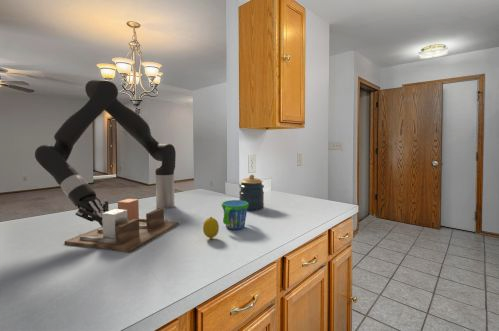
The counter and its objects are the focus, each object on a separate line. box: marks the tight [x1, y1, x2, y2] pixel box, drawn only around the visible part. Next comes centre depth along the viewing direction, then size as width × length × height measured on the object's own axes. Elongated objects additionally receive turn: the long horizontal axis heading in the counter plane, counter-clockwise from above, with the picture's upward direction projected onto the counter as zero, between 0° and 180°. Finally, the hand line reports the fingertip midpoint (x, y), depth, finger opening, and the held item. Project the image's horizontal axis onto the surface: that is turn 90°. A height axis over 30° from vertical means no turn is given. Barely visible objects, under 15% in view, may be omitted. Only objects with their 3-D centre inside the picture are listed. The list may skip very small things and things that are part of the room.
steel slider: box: [102, 208, 127, 239], centre depth 94 cm, size 5×6×9 cm
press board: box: [64, 208, 180, 253], centre depth 102 cm, size 26×30×7 cm
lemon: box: [202, 216, 220, 240], centre depth 97 cm, size 6×6×8 cm
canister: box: [238, 174, 265, 212], centre depth 141 cm, size 13×13×18 cm
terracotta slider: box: [117, 198, 140, 221], centre depth 111 cm, size 5×6×9 cm
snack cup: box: [221, 199, 249, 231], centre depth 109 cm, size 16×10×10 cm
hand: (108, 226), depth 95 cm, fingers closed
